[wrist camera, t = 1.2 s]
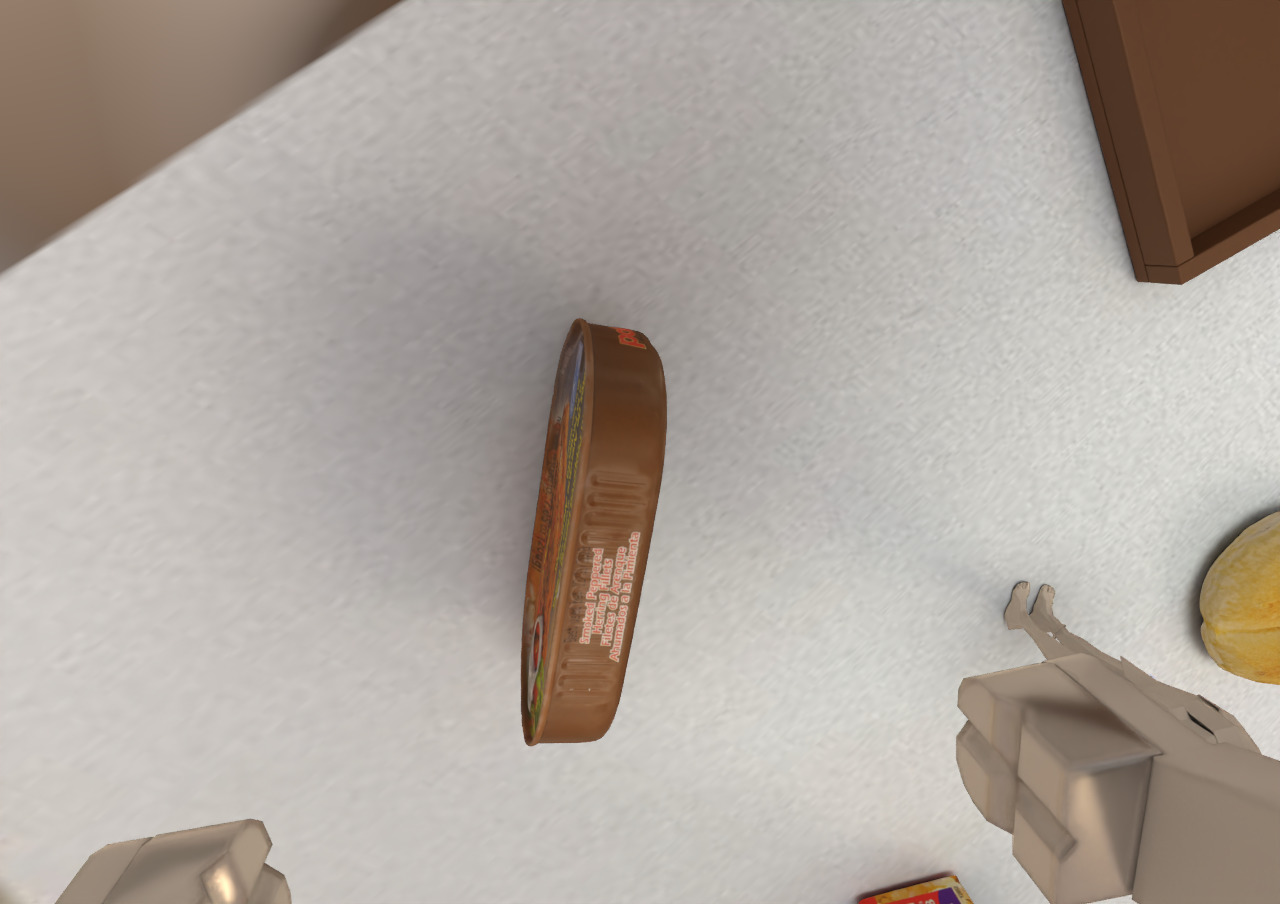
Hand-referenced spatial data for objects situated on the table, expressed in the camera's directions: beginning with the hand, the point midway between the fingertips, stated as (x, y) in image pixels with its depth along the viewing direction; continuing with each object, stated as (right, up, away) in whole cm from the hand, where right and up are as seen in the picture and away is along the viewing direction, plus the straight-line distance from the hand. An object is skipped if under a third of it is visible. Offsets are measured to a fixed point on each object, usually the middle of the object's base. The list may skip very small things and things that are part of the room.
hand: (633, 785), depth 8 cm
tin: (-3, +2, +20) cm, 20 cm away
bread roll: (+32, -3, +27) cm, 42 cm away
